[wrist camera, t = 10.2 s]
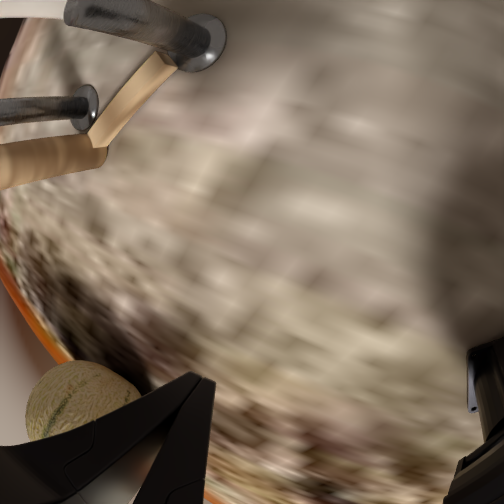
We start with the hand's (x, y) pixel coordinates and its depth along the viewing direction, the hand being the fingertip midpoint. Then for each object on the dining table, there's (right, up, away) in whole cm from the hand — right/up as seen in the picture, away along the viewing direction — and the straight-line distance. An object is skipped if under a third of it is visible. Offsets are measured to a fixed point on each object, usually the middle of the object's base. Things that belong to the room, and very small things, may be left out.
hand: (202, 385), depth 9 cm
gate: (-8, +14, +12) cm, 20 cm away
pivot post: (-2, +18, +8) cm, 20 cm away
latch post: (-13, +16, +14) cm, 25 cm away
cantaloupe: (-13, -12, +24) cm, 30 cm away
